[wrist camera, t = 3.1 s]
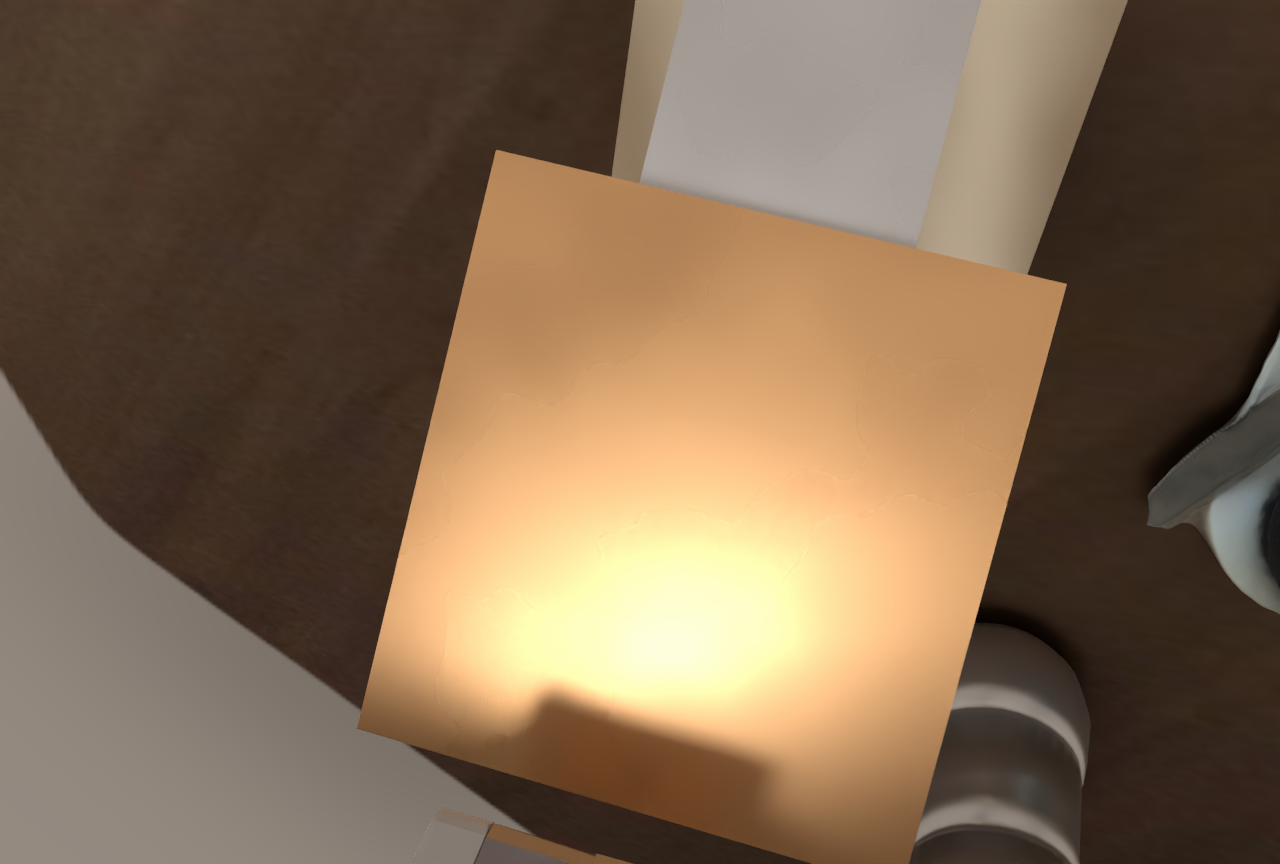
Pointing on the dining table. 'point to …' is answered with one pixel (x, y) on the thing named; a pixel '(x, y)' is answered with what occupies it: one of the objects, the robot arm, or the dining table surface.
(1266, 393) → the salad plate
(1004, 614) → the dining table surface
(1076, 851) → the plastic bottle
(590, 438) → the press lever
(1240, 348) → the dining table surface
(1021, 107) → the press base
